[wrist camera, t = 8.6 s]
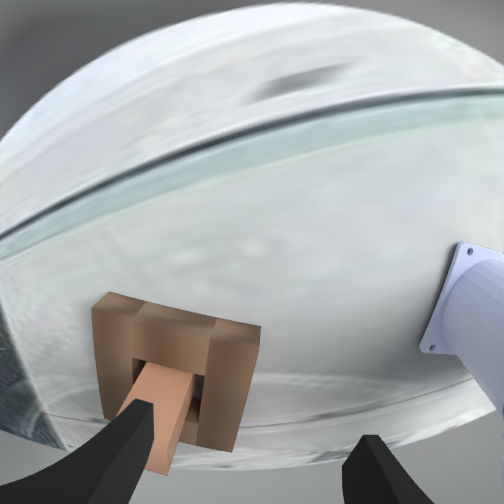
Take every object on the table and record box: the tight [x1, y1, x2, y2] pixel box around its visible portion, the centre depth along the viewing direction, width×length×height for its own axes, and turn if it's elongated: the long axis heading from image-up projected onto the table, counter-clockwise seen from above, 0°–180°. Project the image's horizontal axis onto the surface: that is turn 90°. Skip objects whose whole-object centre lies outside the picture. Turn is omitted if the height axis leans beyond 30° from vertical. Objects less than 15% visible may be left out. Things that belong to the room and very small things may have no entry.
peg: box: [115, 362, 197, 476], centre depth 16 cm, size 3×3×8 cm
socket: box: [91, 292, 261, 453], centre depth 19 cm, size 10×10×2 cm
